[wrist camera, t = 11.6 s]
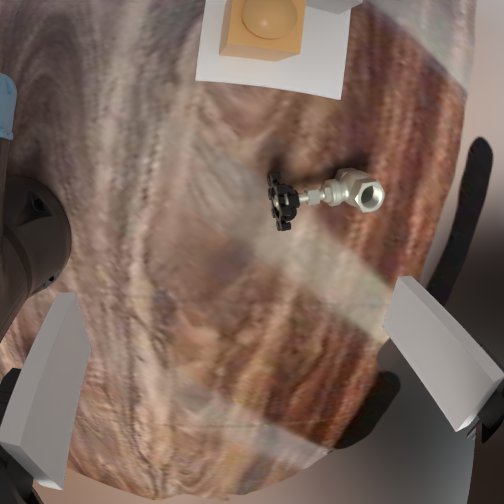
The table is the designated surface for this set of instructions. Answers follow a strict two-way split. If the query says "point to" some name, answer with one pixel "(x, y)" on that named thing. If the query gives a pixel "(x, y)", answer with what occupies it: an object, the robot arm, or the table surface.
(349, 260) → the table surface
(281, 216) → the valve
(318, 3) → the cube with dome button
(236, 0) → the domed tan cube
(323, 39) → the plate
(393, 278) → the table surface
